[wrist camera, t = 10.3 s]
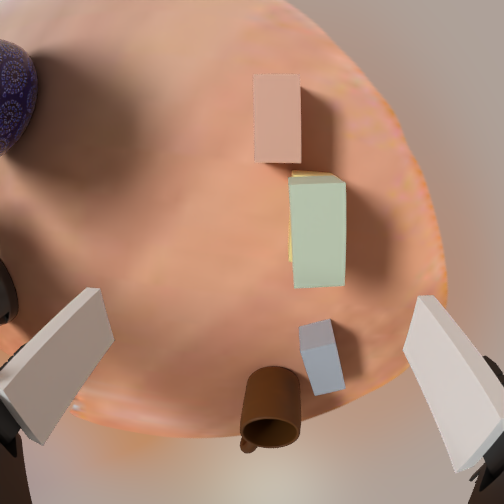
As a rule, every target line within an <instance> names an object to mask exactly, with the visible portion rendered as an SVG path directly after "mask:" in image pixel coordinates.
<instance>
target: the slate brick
mask: <svg viewBox="0 0 504 504" xmlns="http://www.w3.org/2000/svg"><path fill="white" fill-rule="evenodd" d="M299 339H300V353H301V356H302V359H303V362H304V365H305V368H306V371H307V374H308V377H309V380H310V383H311V386H312V389H313V392H314V395H315V396H317V395H321V394H326V393H330V392H334V391H338V390H343V389H345V383H344V378H343V373H342V368H341V363H340V359H339V354H338V350H337V346H336V341H335V337H334V333H333V329H332V325H331V321H330V319H327V320H323V321H319V322H316V323H312V324H308V325H304V326H300V327H299Z"/></svg>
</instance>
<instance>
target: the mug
mask: <svg viewBox="0 0 504 504" xmlns="http://www.w3.org/2000/svg"><path fill="white" fill-rule="evenodd" d="M300 427H301V401H300V384H299V380H298V378H297V377H296V376H295V374H293V373H292V372H291V371H289V370H287V369H285V368H281V367H273V366H272V367H265V368H261V369H259V370H257V371H255V372H254V373H253V374H252V375H251V376H250V377H249V379H248V382H247V386H246V391H245V397H244V402H243V408H242V414H241V421H240V434H241V436H242V438H241V442H240V448H241V450H242V451H243V452H244V453H251V452H253V451H254V450H255V449H256V448H257V447H263V448H279V447H284V446H287V445H289V444H292V443H293V442H295V441H296V440H297V439H298V437H299V435H300Z"/></svg>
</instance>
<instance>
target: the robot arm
mask: <svg viewBox="0 0 504 504" xmlns="http://www.w3.org/2000/svg"><path fill="white" fill-rule="evenodd" d="M17 312H18V300H17V295H16V291H15V288H14V285H13V282H12V280H11V278H10V276H9V273H8V272H7V270H6V268H5V266H4V265H3V263H2V262H1V260H0V325H4V324H7V323H8V322H10V321H11V320H12V319H13V318H14V317H15V316H16V315H17ZM114 341H115V340H114V337H113V333H112V330H111V327H110V323H109V320H108V316H107V313H106V309H105V305H104V301H103V297H102V293H101V289H100V288H89V287H87V288H86V289H84V290H83V291H82V292H81V293H80V294H79V295H78V296H77V297H75V298H74V299H73V300H72V301H71V302H70V303H69V304H68V305H67V306H66V307H64V308H63V309H62V310H61V311H60V312H59V313H58V314H57V315H56V316H55V317H54V318H53V319H52V320H51V321H50V322H48V323H47V324H46V325H45V326H44V327H43V328H42V329H41V330H40V331H39V332H38V333H37V334H36V335H35V336H34V337H33V338H32V339H31V340H30V341H29V342H27V343H26V344H24V345H22V346H21V347H20V348H19V349H18V350H17V351H16V352H15V353H14V356H11V357H10V358H9V359H8V362H6V363H5V364H4V365H3V366H2V367H1V368H0V504H32V501H31V496H30V492H29V487H28V482H27V476H26V470H25V463H24V456H23V448H22V440H21V436H20V435H19V434H18V431H19V430H20V429H22V430H23V431H24V433H25V434H26V435H27V436H28V438H29V439H31V440H33V441H35V442H37V443H39V444H41V445H44V444H45V442H46V440H47V439H48V437H49V436H50V434H51V433H52V431H53V430H54V428H55V426H56V425H57V423H58V422H59V420H60V418H61V417H62V416H63V414H64V413H65V411H66V409H67V408H68V406H69V405H70V403H71V402H72V400H73V399H74V397H75V396H76V395H77V393H78V392H79V390H80V389H81V387H82V386H83V384H84V383H85V381H86V380H87V378H88V377H89V376H90V374H91V373H92V371H93V370H94V368H95V367H96V366H97V364H98V363H99V361H100V360H101V359H102V357H103V356H104V354H105V353H106V352H107V350H108V349H109V347H110V346H111V345H112V343H113V342H114ZM403 352H404V354H405V356H406V358H407V360H408V362H409V364H410V366H411V368H412V370H413V372H414V374H415V377H416V379H417V381H418V383H419V385H420V387H421V389H422V392H423V394H424V396H425V398H426V401H427V403H428V405H429V407H430V410H431V412H432V414H433V417H434V419H435V421H436V424H437V426H438V429H439V431H440V434H441V436H442V439H443V441H444V444H445V446H446V449H447V452H448V454H449V457H450V460H451V462H452V465H453V468H454V471H455V473H457V472H460V471H463V470H466V469H468V468H471V467H473V466H474V465H475V464H476V463H477V462H478V461H479V460H480V459H481V458H482V457H484V460H485V463H484V464H483V465H482V466H481V467H480V468H479V469H478V470H477V471H476V472H475V473H474V474H473V475H472V477H471V478H470V480H469V481H473V480H474V479H475V478H476V477H477V476H478V475H479V476H478V478H477V481H476V482H475V483H476V484H475V487H474V489H473V492H472V495H471V497H470V500H469V502H468V504H504V375H503V373H502V371H501V370H500V368H499V367H498V366H497V364H496V363H495V362H493V361H492V360H491V359H489V358H488V357H487V356H481V354H480V353H479V352H478V350H477V349H476V348H475V346H474V345H473V344H472V342H471V341H470V340H469V338H468V337H467V336H466V335H465V333H464V332H463V331H462V329H461V328H460V327H459V326H458V324H457V323H456V322H455V321H454V319H453V318H452V317H451V316H450V314H449V313H448V312H447V311H446V310H445V308H444V307H443V306H442V305H441V304H440V303H439V301H438V300H437V299H436V298H435V297H434V296H433V295H427V296H418V298H417V302H416V306H415V310H414V313H413V317H412V321H411V324H410V328H409V331H408V334H407V338H406V341H405V344H404V347H403Z"/></svg>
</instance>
